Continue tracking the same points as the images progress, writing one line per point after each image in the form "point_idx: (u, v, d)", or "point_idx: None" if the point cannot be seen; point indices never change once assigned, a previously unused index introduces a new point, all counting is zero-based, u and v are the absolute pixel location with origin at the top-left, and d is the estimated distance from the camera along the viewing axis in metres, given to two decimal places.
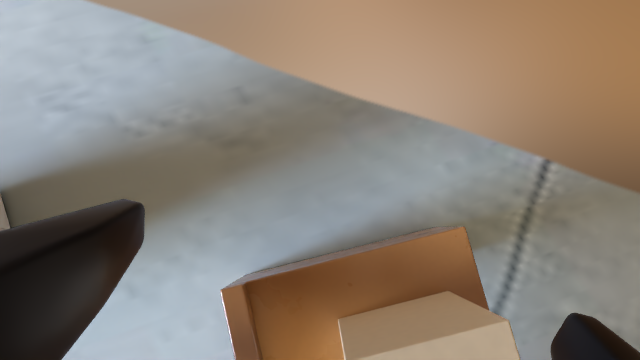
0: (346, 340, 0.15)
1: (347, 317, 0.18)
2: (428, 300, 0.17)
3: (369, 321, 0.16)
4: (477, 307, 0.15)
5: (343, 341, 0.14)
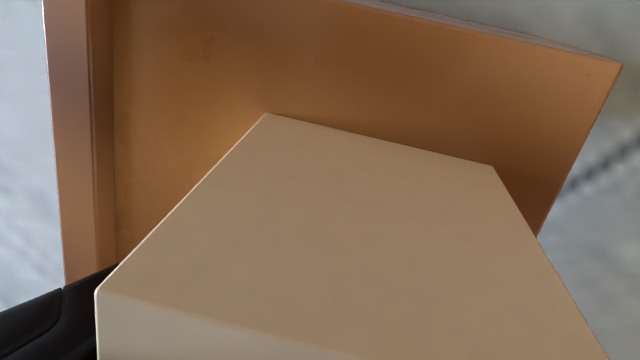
0: (208, 186, 0.06)
1: (282, 118, 0.09)
2: (445, 169, 0.08)
3: (305, 155, 0.07)
4: (550, 275, 0.05)
5: (199, 185, 0.06)
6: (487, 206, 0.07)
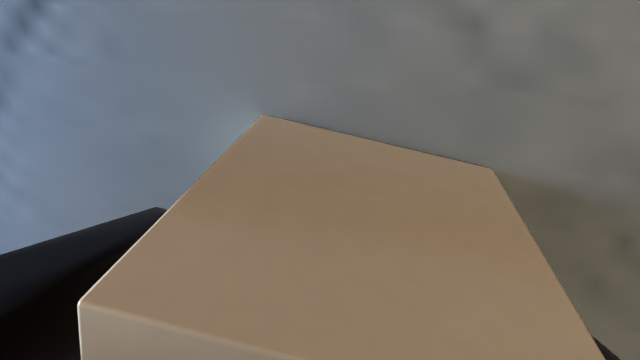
0: (200, 191, 0.06)
1: (278, 120, 0.09)
2: (444, 172, 0.08)
3: (301, 158, 0.07)
4: (551, 282, 0.05)
5: (191, 190, 0.06)
6: (486, 211, 0.07)
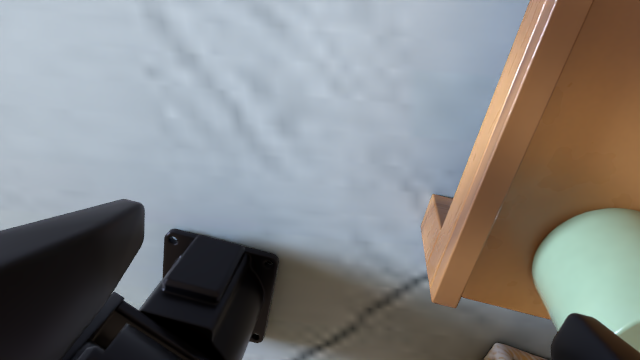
0: None
1: None
2: None
3: None
4: None
5: None
6: None
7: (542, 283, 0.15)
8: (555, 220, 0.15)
